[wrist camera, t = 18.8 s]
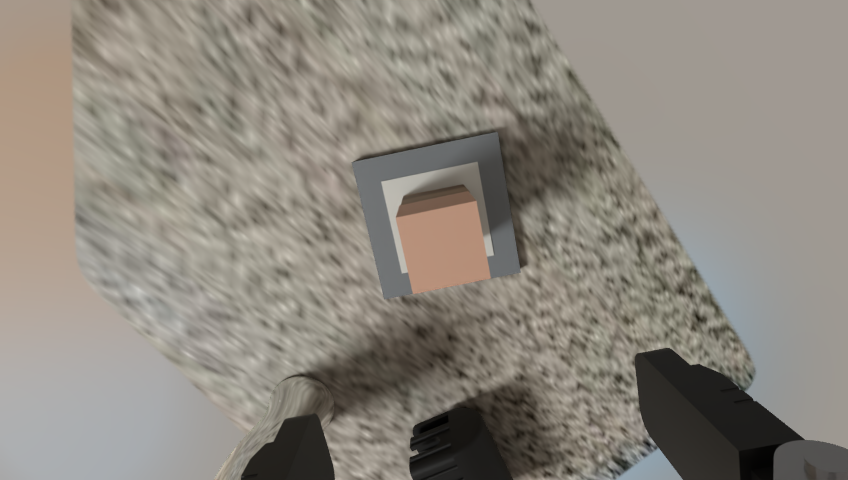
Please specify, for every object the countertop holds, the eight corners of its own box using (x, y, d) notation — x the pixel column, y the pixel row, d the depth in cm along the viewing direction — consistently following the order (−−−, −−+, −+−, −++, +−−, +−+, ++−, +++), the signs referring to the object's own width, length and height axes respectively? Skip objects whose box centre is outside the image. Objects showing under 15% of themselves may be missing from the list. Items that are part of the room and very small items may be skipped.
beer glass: (350, 386, 42) (312, 519, 28) (324, 446, 44) (275, 603, 29) (279, 360, 42) (201, 482, 27) (255, 421, 43) (170, 569, 28)
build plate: (353, 161, 38) (351, 162, 37) (495, 131, 37) (497, 131, 36) (385, 295, 40) (384, 299, 39) (518, 269, 40) (520, 272, 39)
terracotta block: (399, 205, 32) (395, 217, 27) (468, 190, 32) (476, 200, 27) (414, 270, 33) (413, 294, 29) (480, 257, 33) (490, 278, 28)
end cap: (517, 476, 45) (533, 535, 38) (451, 502, 45) (456, 564, 39) (476, 393, 43) (486, 440, 36) (408, 422, 43) (406, 473, 37)
